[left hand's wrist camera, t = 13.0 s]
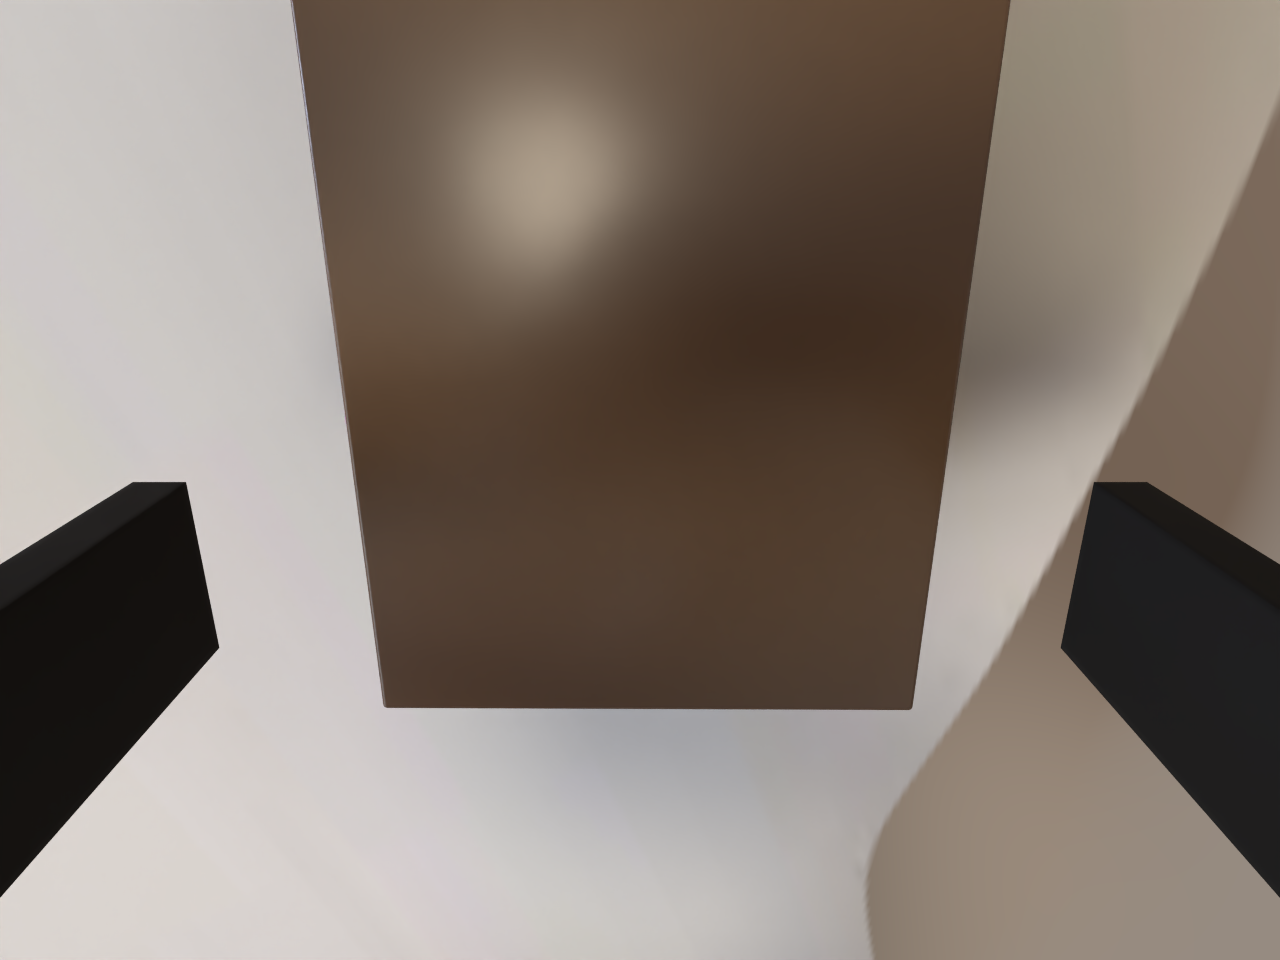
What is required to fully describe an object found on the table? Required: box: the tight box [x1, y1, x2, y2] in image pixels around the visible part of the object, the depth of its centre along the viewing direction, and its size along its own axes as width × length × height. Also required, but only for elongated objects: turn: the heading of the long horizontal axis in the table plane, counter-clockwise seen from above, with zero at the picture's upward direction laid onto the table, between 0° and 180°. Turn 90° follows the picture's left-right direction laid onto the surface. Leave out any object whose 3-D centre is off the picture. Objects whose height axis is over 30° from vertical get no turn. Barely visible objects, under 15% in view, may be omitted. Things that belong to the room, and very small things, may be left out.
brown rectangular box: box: [291, 0, 1010, 710], centre depth 17 cm, size 19×10×10 cm, turn 0°
